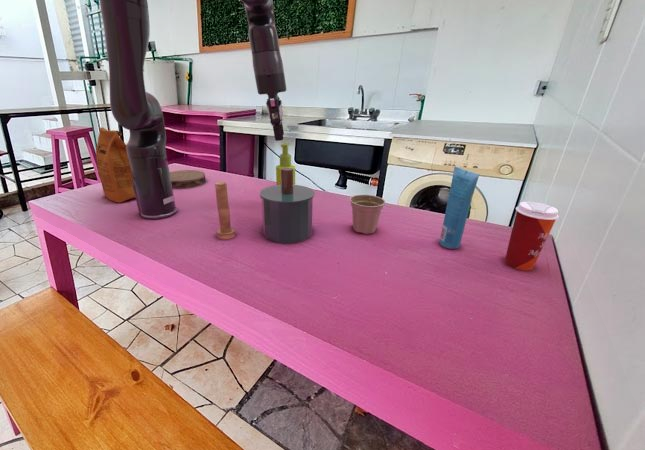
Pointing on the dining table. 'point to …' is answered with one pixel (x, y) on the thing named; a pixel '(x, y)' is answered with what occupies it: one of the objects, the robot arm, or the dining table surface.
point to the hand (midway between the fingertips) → (279, 137)
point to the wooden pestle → (223, 212)
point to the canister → (287, 221)
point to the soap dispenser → (284, 163)
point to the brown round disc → (187, 179)
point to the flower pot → (366, 212)
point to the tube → (457, 207)
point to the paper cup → (529, 234)
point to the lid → (287, 190)
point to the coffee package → (114, 166)
